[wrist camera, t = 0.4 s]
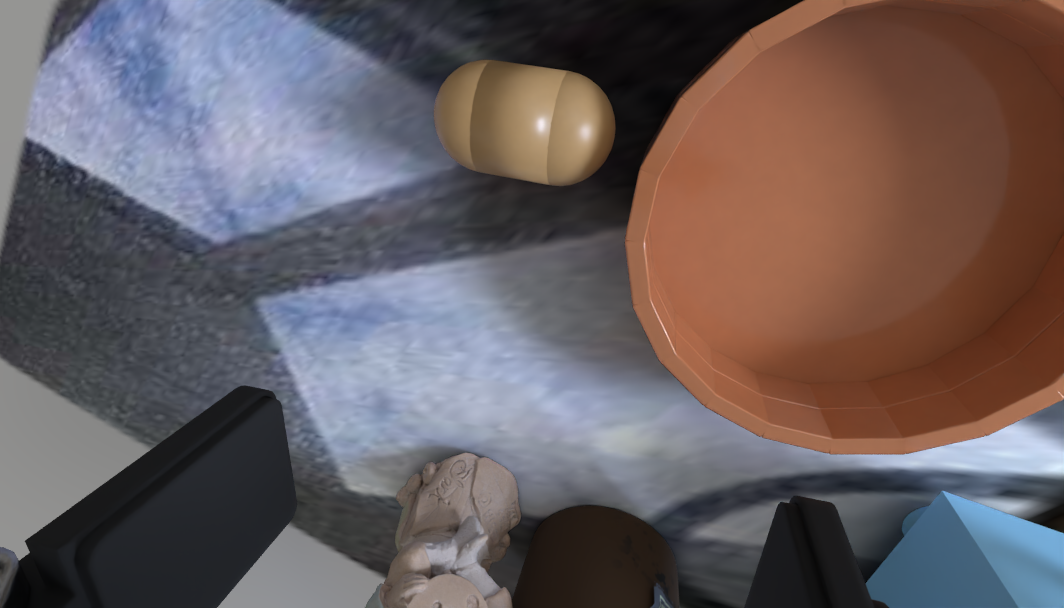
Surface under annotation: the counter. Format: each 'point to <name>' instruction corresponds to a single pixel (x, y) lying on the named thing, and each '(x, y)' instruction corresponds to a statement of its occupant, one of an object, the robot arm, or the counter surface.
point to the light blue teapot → (971, 560)
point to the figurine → (451, 536)
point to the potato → (524, 122)
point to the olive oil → (597, 563)
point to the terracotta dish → (863, 224)
